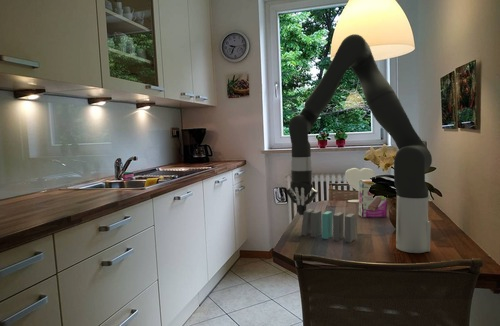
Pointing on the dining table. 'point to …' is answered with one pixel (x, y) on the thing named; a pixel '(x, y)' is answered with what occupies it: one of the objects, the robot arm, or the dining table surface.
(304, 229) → the domino
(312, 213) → the domino
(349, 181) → the heart sculpture
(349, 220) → the domino
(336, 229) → the domino
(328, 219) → the domino
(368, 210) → the candy bar box
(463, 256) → the dining table surface
